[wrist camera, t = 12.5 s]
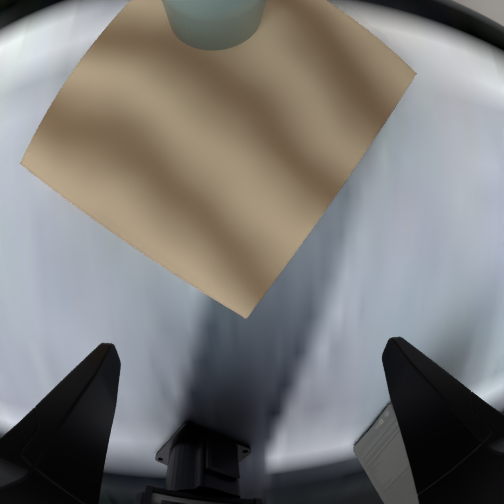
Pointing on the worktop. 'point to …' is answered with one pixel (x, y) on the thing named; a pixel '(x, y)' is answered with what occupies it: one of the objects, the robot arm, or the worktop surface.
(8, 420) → the worktop surface
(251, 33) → the ceramic jar
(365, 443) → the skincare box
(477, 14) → the worktop surface
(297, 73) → the oak board
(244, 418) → the worktop surface
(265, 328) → the worktop surface
